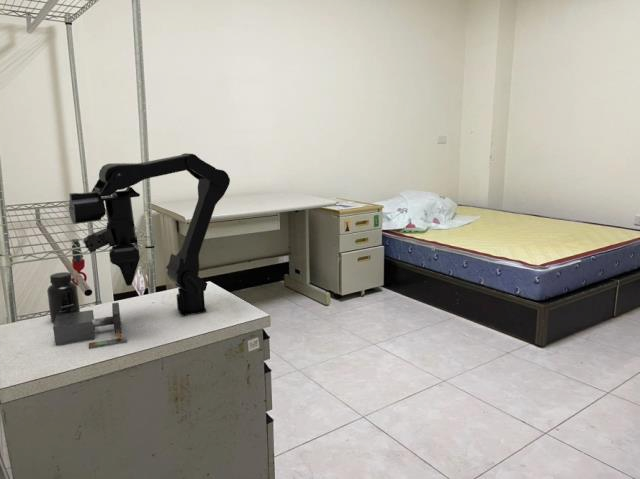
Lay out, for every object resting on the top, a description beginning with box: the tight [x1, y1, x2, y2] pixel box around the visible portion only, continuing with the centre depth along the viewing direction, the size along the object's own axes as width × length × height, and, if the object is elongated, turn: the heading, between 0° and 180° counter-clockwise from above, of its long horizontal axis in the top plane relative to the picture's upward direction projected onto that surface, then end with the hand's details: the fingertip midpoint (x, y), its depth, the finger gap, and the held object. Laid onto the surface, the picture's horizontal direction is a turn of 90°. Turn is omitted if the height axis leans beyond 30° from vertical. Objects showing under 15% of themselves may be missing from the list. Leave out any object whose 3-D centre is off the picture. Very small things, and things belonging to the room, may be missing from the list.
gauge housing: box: [52, 309, 128, 350], centre depth 113 cm, size 15×13×4 cm
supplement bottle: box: [47, 271, 81, 323], centre depth 123 cm, size 7×7×12 cm
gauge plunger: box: [92, 301, 122, 339], centre depth 113 cm, size 12×13×5 cm
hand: (128, 279), depth 117 cm, fingers open, 9 cm apart
